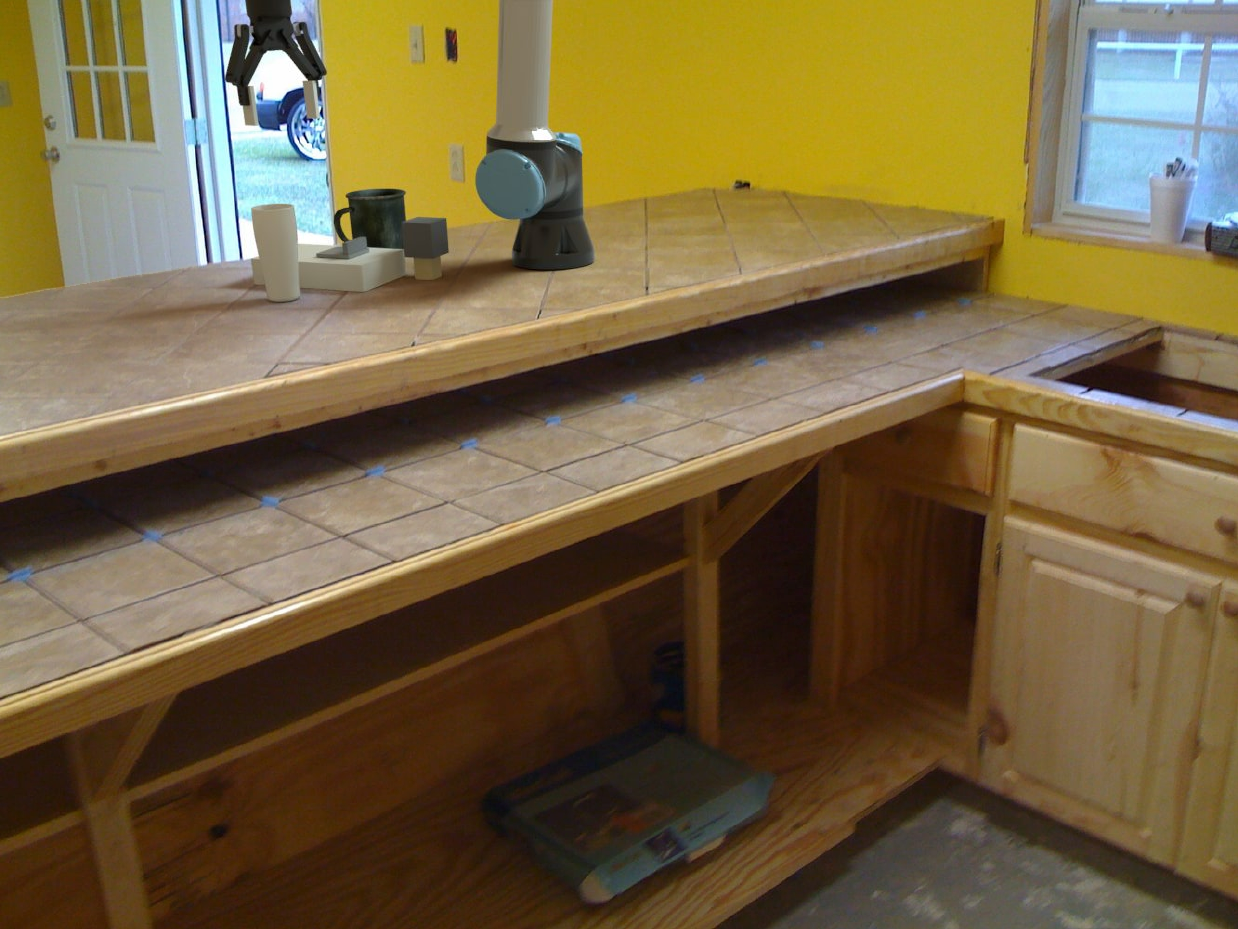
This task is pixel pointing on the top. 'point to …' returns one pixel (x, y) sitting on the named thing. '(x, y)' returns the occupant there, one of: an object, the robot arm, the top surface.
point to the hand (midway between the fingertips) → (283, 121)
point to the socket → (343, 269)
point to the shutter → (346, 249)
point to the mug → (375, 217)
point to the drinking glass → (277, 250)
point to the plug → (425, 245)
